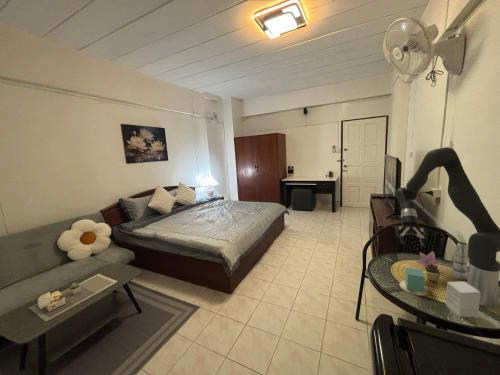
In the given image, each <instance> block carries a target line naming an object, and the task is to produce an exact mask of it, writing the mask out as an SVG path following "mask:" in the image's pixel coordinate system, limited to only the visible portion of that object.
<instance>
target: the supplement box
mask: <svg viewBox="0 0 500 375" xmlns="http://www.w3.org/2000/svg"><path fill="white" fill-rule="evenodd" d="M480 294H481V292H479V291H478V290H476V289H475V288H474V287H472V286H471V285H469V284H468V283H467V281H465V280H462V281H447V282H446V293H445V306H446V307H447V308H448V309H450V310H451V311H452V312H453V313H454V314H456V315H457V317H460V318H473V317H474V318H475V320H476V319H478V318H479V308H480V305H479V302H480Z"/></svg>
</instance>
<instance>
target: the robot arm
mask: <svg viewBox="0 0 500 375" xmlns="http://www.w3.org/2000/svg"><path fill="white" fill-rule="evenodd" d="M442 167H443V168H444V170H445V172H446V174H447V176H448V183H447V193H448V194H447V195H448V197H449V198H450V200H451V202H452V204H453V205H454V207H455V208H456V210H458V211H459V213H461V214H463V215H464V216H465V217H466V218H468V219H469V221H470V222H471V223H472V225H473V227H474V228H475V230H476V232H475V233H472V234H470V236H469V238H468V240H467V242H468V243H467V250H468V258H469V260H468V267H467V273H468V276H467V279H466V283H468V284H469V285H471V286H472V287H474V288H475V289H476V290H478V291H479V292H481V294H480V302H479V306H482V307H487V308H488V307H489V308H491V307H492V308H497V304H498V298H499V291H500V287H499V286H498V284H499V279H500V262H499V261H498V260H497V253H499V252H500V228H499V226H498V225H497V223H496V222H495V221H494V220H493V218H492V217H491V215H490V214H489V212H488V210H487V207H486V206H485V205H484V203H483V202H482V199H481V198H480V195H479V193H478V192H477V190H476V189H475V188H474V186H473V184H472V183H471V181H470V178H469V177H468V174H466V172H465V170H464V166H463V164H462V162H461V160H460V158H459V155H458V153H457V152H456V151H455V150H454V149H453V148H451V147H441V148H436V149H435V148H434V149H432V150H429V151H428V152H427V153H426V155H425V156H424V158H423V159H422V161H421V163H420V164H419V166H418V168H417V170H416V172H415V174H414V175H413V176H412V177H411V178H410V179H409V180H408V181H407V183H406V185H405V187H399V188H397V189H396V191H395V196H396V200H397V201H398V204H399V205H400V218H401V225H398V224H397V225H396V226H395V236H396V237H398V238H399V242H400V243H401V245H404V244H405V241H404V240H405V238H404V236H405V235H409V236H410V235H413V236H416V237H418V238H419V239H420V246H421V247H424V246H425V244H426V242H425V240H427V239H428V238H429V232H428V230H427V227H426V226H425V227H420V226H419V220H418V219H419V218H418V214H417V210H416V205H415V202H414V200H415V199H417V197H418V195H419V192H420V190H421V189H422V188H423V187H424V186H425V185H426V184H427V182H428V179H429V174H431V172H432V171H434V170H435V169H437V168H442ZM400 230H402V233H400ZM421 232H422V233H423V234H422V233H421Z"/></svg>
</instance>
